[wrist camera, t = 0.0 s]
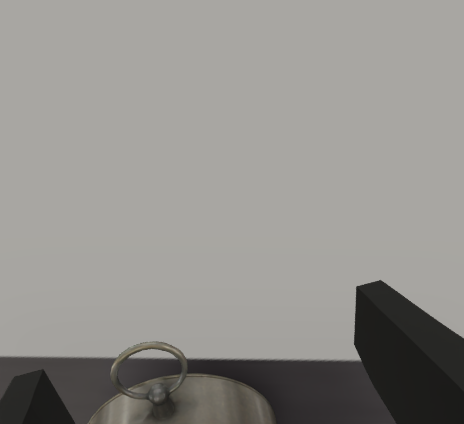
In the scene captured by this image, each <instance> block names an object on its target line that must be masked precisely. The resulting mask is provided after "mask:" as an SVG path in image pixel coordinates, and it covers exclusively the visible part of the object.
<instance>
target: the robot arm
mask: <svg viewBox="0 0 464 424" xmlns="http://www.w3.org/2000/svg"><path fill="white" fill-rule="evenodd" d="M354 345H355V347H356V349H357V351H358V354H359V356H360V358H361V360H362V363H363V365H364V367H365V369H366V371H367V373H368V375H369V377H370V379H371V381H372V383H373V385H374V387H375V389H376V390H377V392H378V394H379V395H380V397H381V399H382V400H383V402H384V404H385V405H386V407H387V408H388V410H389V412H390V413H391V415H392V417H393V418H394V420H395V421H396V423H397V424H464V338H462V337H461V336H459V335H458V334H456V333H455V332H453V331H451V330H450V329H449V328H447V327H446V326H444V325H443V324H442V323H440V322H438V321H437V320H436V319H434V318H433V317H432V316H430V315H429V314H427V313H426V312H424V311H423V310H422V309H420V308H419V307H418V306H416V305H415V304H413V303H412V302H411V301H409V300H408V299H406V298H405V297H404V296H402V295H401V294H400V293H398V292H397V291H395V290H394V289H393V288H391V287H390V286H388V285H387V284H386V283H384V282H383V281H381V280H379V281H376V282H372V283H368V284H364V285H361V286H357V287H356V313H355V335H354ZM0 424H75V422H74V420H73V419H72V417H71V415H70V414H69V412H68V410H67V409H66V407H65V405H64V404H63V402H62V400H61V398H60V397H59V395H58V393H57V392H56V390H55V388H54V387H53V385H52V383H51V382H50V380H49V378H48V376H47V375H46V373H45V371H44V370H43V369H42V370H38V371H35V372H31V373H27V374H23V375H20V376H16V377H14V378H13V380H12V381H11V383H10V384H9V386H8V388H7V390H6V391H5V393H4V395H3V397H2V398H1V400H0Z"/></svg>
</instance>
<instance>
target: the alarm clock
mask: <svg viewBox="0 0 464 424" xmlns="http://www.w3.org/2000/svg"><path fill="white" fill-rule="evenodd" d="M147 349H158V350H163V351H167V352H170V353H171V354H173V355H174V356H175V357H176V358H178V360H179V361H180V363H181V366H182V372H181V374H176V375H169V376H163V377H159V378H155V379H151V380H148V381H145V382H142V383H139V384H137V385H134V386H132V387H130V388H128V389H126V388H125V387H124V386H123V385H122V384H121V383H120V382H119V379H118V376H117V375H118V370H119V367H120V366H121V364H122V363H123V362H124V360H126V359H127V358H128V357H129V356H131V355H132V354H134V353H137V352H140V351H142V350H147ZM187 368H188V364H187V360H186V358H185V356H184V355H183V353H182V352H181V351H180V350H179V349H177V348H175V347H173V346H172V345H169V344H167V343H163V342H145V343H140V344H137V345H134V346H132V347H130V348H128V349H127V350H125V351H124V352H123V353H121V354H120V355H119V356H118V358H117V359H116V360H115V362H114V363H113V365H112V367H111V374H110V376H111V381H112V383H113V385H114V386H115V388H116V389H117V390H118V391H119V392H120V393H119V394H117V395H116V396H114V397H112V398H111V399H110V400H108V401H107V402H106V403H105V404H103V405H102V406H101V407H100V408H99V409H98V410H97V411H96V412H95V414H94V415H93V416H92V418H91V419H90V421H89V423H88V424H277V422H276V417H275V414H274V411H273V408H272V407H271V405H270V404H269V402H268V401H267V399H266V398H265V397H264V396H263V395H262V394H260V393H259V392H258V391H256V390H255V389H253V388H252V387H250V386H248V385H246V384H244V383H242V382H239V381H237V380H234V379H230V378H227V377H223V376H217V375H212V374H203V373H188V374H187Z"/></svg>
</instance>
